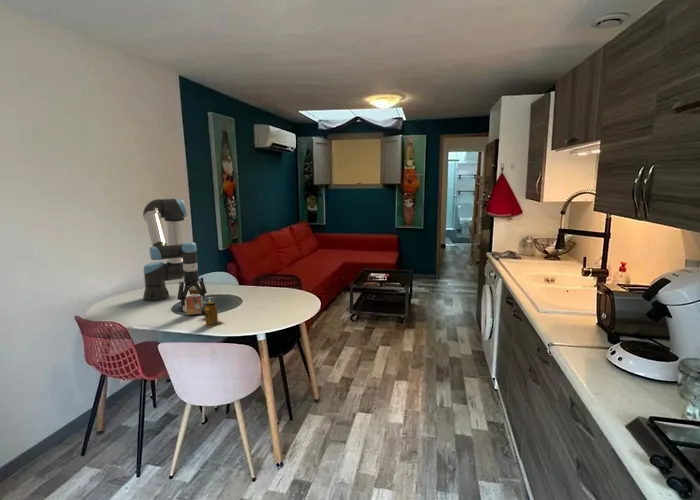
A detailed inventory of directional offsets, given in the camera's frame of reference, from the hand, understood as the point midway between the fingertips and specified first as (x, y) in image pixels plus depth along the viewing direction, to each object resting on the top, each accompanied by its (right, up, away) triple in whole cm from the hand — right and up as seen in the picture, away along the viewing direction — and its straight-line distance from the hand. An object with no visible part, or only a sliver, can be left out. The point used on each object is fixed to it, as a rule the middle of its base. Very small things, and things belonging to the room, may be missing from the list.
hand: (193, 308), depth 217 cm
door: (+1, -2, +6) cm, 7 cm away
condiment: (+17, -6, -14) cm, 23 cm away
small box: (0, -3, 0) cm, 3 cm away
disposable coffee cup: (-6, 0, +21) cm, 22 cm away
